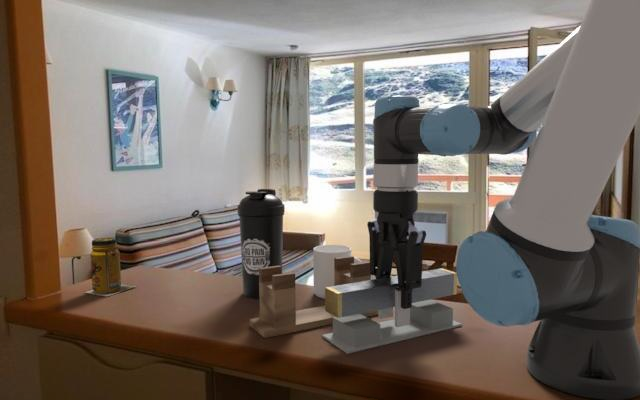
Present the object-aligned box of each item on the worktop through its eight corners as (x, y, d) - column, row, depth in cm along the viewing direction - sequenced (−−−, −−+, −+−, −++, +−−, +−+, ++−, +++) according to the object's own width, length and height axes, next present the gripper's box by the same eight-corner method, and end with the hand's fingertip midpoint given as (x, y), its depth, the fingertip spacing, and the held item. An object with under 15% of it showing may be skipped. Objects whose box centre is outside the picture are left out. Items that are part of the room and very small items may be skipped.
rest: (461, 325, 92) (462, 307, 92) (347, 353, 80) (347, 332, 80) (431, 313, 99) (432, 296, 99) (322, 337, 87) (322, 317, 87)
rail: (441, 288, 97) (442, 268, 97) (456, 294, 94) (457, 272, 93) (325, 310, 85) (325, 287, 84) (337, 318, 81) (337, 293, 81)
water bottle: (231, 298, 110) (228, 191, 107) (251, 285, 119) (249, 187, 117) (275, 302, 107) (273, 192, 104) (292, 288, 116) (290, 188, 114)
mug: (372, 294, 112) (373, 248, 111) (357, 304, 105) (357, 255, 104) (324, 287, 118) (324, 243, 116) (306, 296, 110) (306, 250, 109)
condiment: (83, 293, 114) (80, 240, 113) (114, 283, 122) (112, 234, 120) (106, 297, 111) (103, 243, 110) (136, 287, 118) (134, 236, 117)
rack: (379, 314, 99) (379, 261, 97) (264, 338, 87) (263, 278, 86) (359, 304, 105) (359, 254, 103) (249, 325, 93) (248, 269, 92)
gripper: (447, 191, 81) (443, 332, 84) (383, 184, 96) (382, 304, 99) (410, 194, 78) (408, 341, 80) (350, 186, 92) (349, 310, 95)
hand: (393, 320), depth 90 cm, fingers closed on rail, 4 cm apart
